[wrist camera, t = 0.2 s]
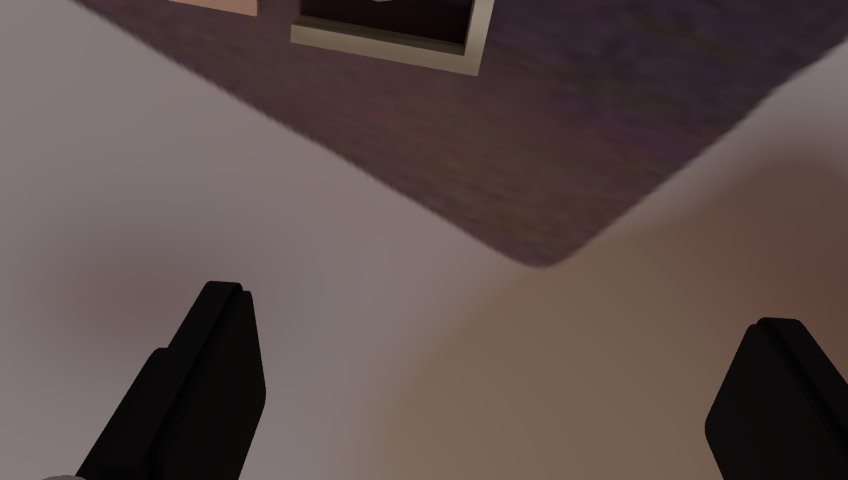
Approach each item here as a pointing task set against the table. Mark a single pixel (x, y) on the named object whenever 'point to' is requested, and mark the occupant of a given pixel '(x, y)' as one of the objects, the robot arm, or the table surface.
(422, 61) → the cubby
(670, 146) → the table surface
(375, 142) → the table surface
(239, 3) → the tile
